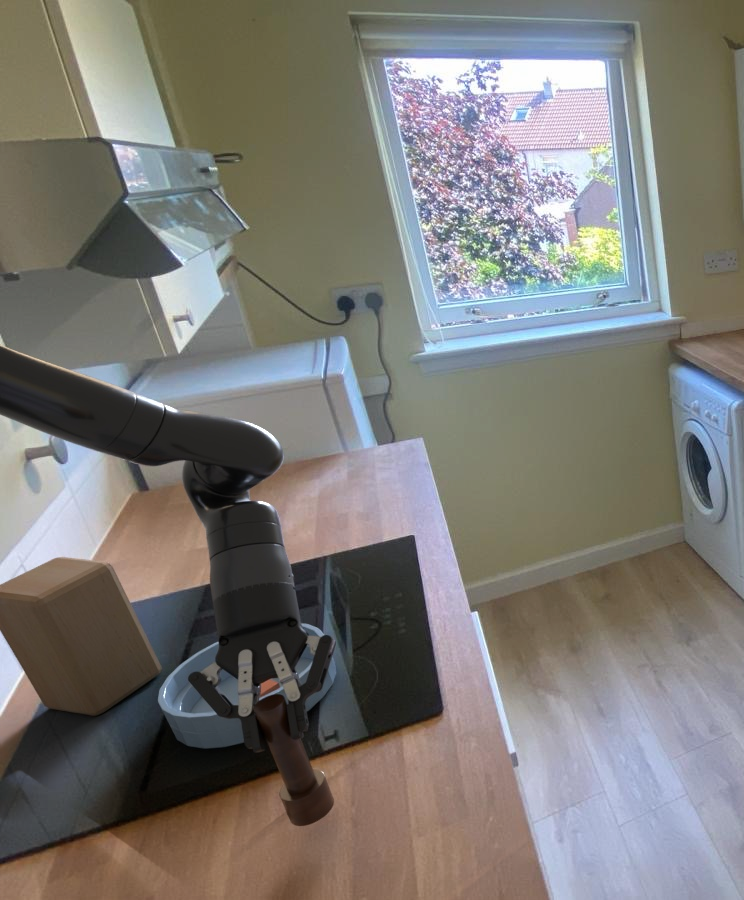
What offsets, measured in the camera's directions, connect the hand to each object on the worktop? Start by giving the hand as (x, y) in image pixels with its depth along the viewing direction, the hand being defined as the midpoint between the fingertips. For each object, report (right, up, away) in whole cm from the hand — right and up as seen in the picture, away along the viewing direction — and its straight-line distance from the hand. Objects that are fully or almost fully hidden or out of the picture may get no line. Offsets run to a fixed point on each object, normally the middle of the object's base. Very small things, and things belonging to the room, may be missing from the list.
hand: (279, 743), depth 78 cm
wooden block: (-46, -4, +30) cm, 55 cm away
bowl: (-22, -4, +27) cm, 35 cm away
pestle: (-1, -10, +7) cm, 12 cm away
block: (-19, -5, +25) cm, 32 cm away
